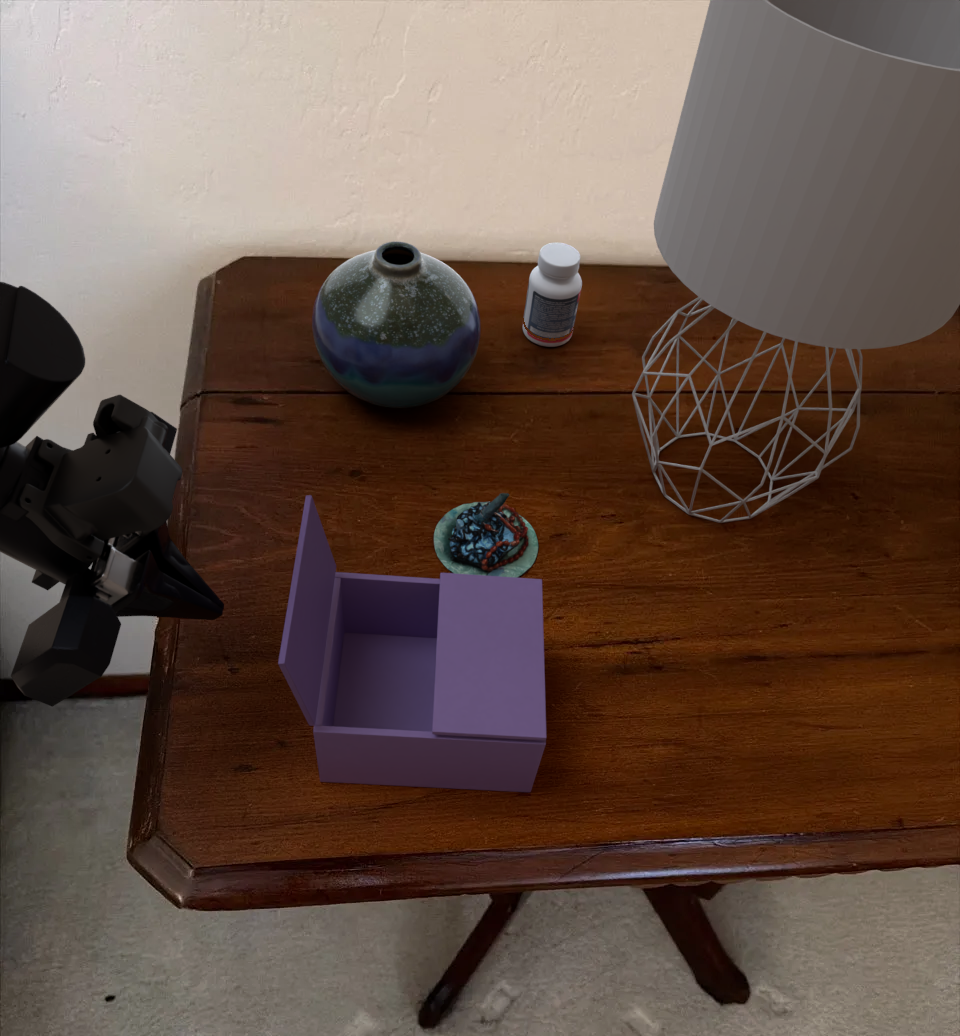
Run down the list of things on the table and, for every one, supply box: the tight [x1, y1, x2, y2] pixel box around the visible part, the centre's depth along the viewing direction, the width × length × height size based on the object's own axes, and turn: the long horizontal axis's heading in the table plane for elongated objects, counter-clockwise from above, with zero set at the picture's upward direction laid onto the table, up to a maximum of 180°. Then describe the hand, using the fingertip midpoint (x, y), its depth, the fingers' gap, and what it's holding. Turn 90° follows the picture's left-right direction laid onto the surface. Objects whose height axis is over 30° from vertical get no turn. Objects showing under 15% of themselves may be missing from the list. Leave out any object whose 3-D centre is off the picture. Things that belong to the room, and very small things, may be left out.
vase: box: [311, 240, 482, 409], centre depth 83 cm, size 15×15×13 cm
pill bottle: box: [522, 242, 583, 348], centre depth 91 cm, size 5×5×9 cm
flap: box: [277, 494, 337, 727], centre depth 58 cm, size 7×13×1 cm
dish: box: [433, 492, 539, 578], centre depth 78 cm, size 8×7×8 cm
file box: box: [312, 571, 547, 793], centre depth 65 cm, size 15×13×8 cm
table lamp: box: [631, 0, 960, 524], centre depth 68 cm, size 22×22×40 cm
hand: (219, 612), depth 59 cm, fingers closed
